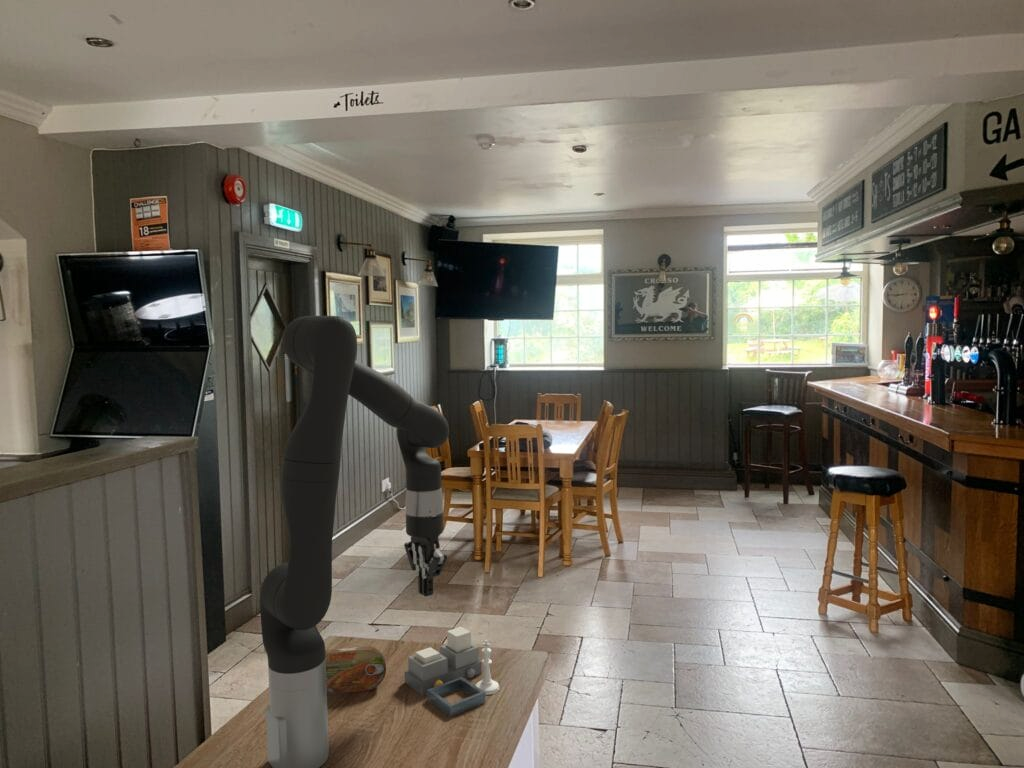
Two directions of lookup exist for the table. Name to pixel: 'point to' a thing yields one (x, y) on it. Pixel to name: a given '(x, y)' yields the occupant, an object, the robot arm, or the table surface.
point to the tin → (354, 669)
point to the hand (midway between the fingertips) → (425, 594)
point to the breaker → (459, 639)
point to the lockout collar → (459, 706)
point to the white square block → (427, 655)
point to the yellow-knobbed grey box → (442, 668)
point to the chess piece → (487, 673)
